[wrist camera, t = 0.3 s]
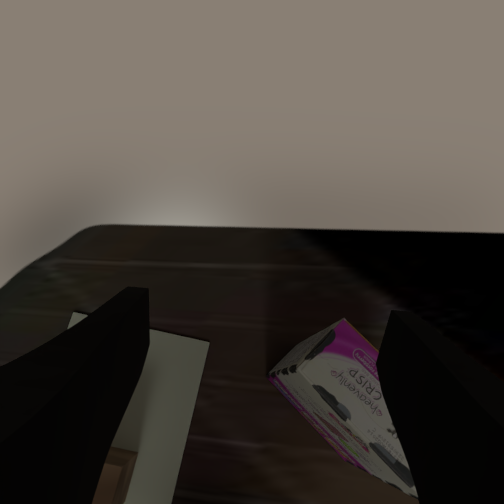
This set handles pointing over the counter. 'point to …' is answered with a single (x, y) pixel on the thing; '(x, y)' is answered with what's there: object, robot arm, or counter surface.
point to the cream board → (160, 414)
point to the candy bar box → (345, 400)
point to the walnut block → (115, 476)
